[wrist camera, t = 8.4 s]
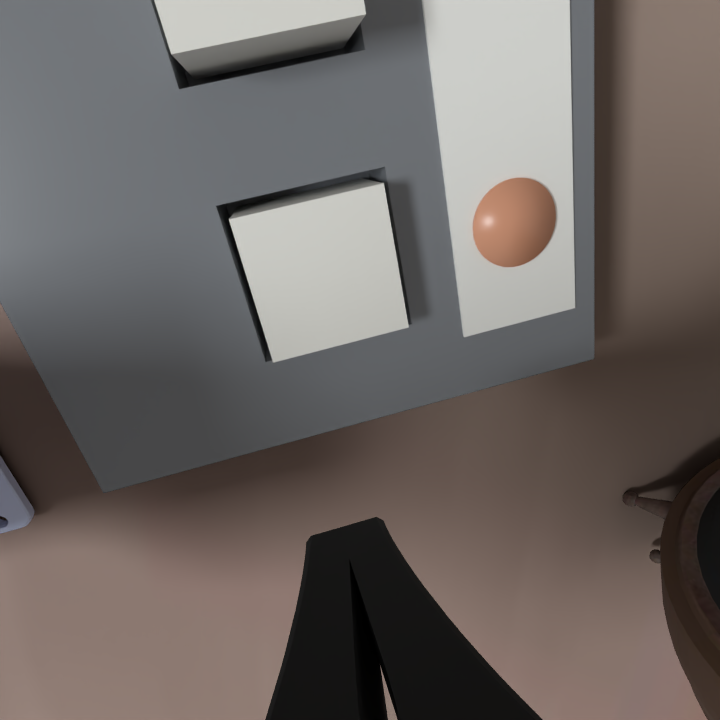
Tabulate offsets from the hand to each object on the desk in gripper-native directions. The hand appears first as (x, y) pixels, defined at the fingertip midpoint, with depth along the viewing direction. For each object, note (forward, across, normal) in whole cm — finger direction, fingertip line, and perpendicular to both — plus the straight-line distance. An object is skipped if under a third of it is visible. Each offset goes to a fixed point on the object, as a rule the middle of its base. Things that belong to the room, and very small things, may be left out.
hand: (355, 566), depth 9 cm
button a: (+9, -1, -4) cm, 10 cm away
